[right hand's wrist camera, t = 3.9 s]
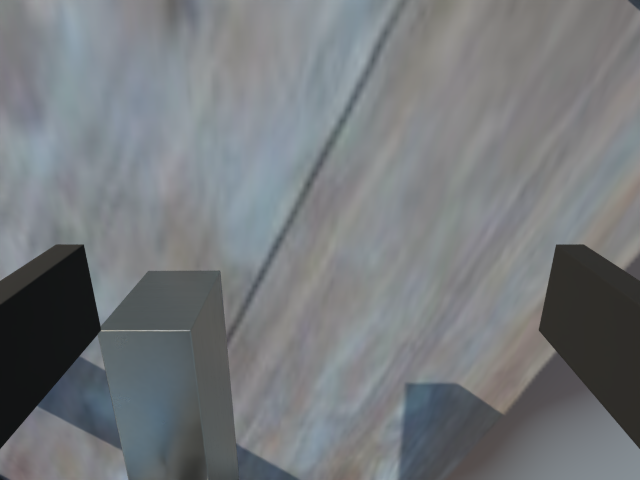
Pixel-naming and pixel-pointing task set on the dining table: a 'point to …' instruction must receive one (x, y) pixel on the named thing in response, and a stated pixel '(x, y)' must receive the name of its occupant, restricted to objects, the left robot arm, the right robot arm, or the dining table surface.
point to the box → (172, 378)
